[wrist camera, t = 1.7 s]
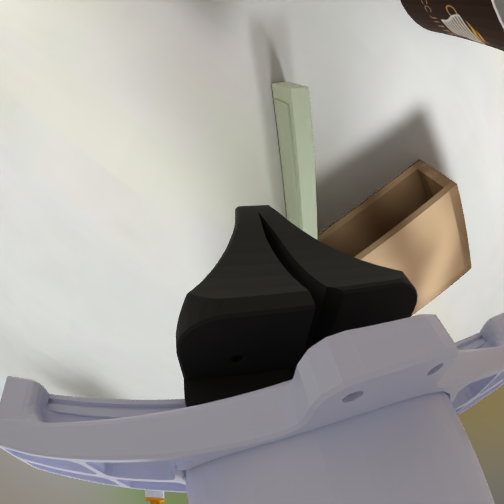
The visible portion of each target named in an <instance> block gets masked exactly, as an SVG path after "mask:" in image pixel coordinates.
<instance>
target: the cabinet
mask: <svg viewBox="0 0 504 504" xmlns="http://www.w3.org/2000/svg"><path fill="white" fill-rule="evenodd" d="M317 240H318V241H320V242H322V243H324V244H326V245H328V246H330V247H332V248H334V249H336V250H338V251H340V252H343V253H345V254H347V255H350V256H352V257H355V258H357V259H360V260H363V261H366V262H369V263H372V264H375V265H379V266H383V267H387V268H391V269H395V270H399V271H403V273H404V274H405V275H406V276H407V278H408V279H409V280H410V282H411V283H412V285H413V286H414V287H415V289H416V291H417V294H418V297H417V304H416V306H415V309H414V311H413V313H412V315H413V314H415V313H416V312H417V311H419V310H420V309H421V308H423V307H424V306H425V305H427V304H428V303H429V302H431V301H432V300H433V299H434V298H436V297H437V296H438V295H440V294H441V293H442V292H443V291H445V290H446V289H447V288H448V287H450V286H451V285H452V284H453V283H454V282H456V281H457V280H458V279H459V278H460V277H462V276H463V275H464V274H465V273H466V272H467V271H468V270H470V269H471V260H470V252H469V244H468V238H467V231H466V225H465V220H464V214H463V209H462V204H461V200H460V195H459V191H458V187H457V184H456V183H454V182H453V181H452V180H450V179H449V178H447V177H446V176H444V175H443V174H441V173H440V172H438V171H437V170H435V169H434V168H432V167H430V166H429V165H427V164H426V163H424V162H423V161H421V160H418V161H417V162H416V163H415V164H413V165H412V166H411V167H409V168H408V169H407V170H405V171H404V172H403V173H402V174H400V175H399V176H398V177H396V178H395V179H394V180H392V181H391V182H390V183H388V184H387V185H386V186H384V187H383V188H382V189H381V190H379V191H378V192H377V193H375V194H374V195H373V196H371V197H370V198H369V199H367V200H366V201H365V202H363V203H362V204H361V205H359V206H358V207H356V208H355V209H354V210H352V211H351V212H350V213H348V214H347V215H346V216H344V217H343V218H342V219H340V220H339V221H338V222H336V223H335V224H333V225H332V226H331V227H329V228H328V229H327V230H325V231H324V232H323V233H321V234H320V235H318V236H317ZM412 315H411V316H412Z"/></svg>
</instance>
